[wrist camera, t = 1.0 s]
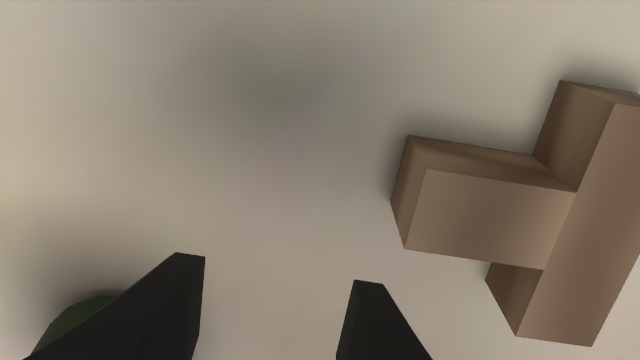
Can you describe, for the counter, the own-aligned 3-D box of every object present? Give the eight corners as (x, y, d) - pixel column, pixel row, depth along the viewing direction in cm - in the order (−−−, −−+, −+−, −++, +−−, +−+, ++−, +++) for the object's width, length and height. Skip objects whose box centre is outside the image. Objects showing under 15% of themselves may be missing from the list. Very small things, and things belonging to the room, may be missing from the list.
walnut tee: (375, 264, 20) (384, 318, 17) (428, 56, 17) (453, 74, 14) (549, 290, 21) (591, 346, 18) (636, 93, 17) (709, 119, 14)
